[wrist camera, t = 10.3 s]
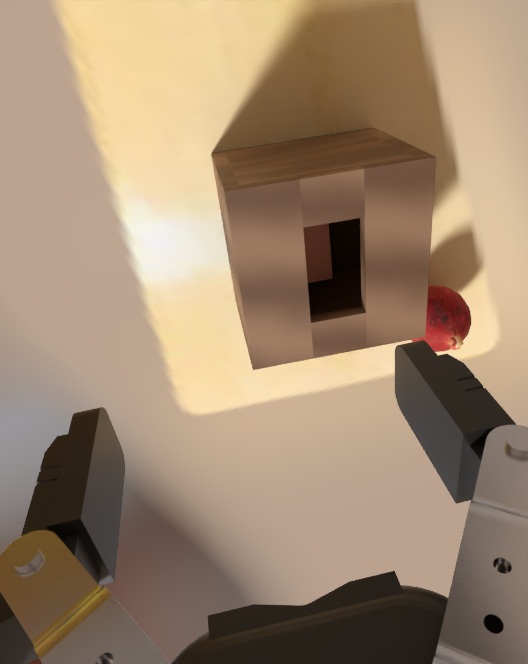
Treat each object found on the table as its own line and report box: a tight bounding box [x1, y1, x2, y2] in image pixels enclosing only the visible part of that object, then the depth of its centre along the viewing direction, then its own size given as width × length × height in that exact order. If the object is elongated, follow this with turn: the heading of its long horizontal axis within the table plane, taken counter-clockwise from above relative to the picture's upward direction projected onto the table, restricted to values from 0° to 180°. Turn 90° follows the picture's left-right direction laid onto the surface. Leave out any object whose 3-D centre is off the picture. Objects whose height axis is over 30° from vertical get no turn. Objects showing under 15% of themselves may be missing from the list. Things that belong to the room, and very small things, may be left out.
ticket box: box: [211, 128, 436, 370], centre depth 38 cm, size 13×13×11 cm
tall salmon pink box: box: [303, 223, 333, 283], centre depth 41 cm, size 5×2×6 cm
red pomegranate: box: [411, 286, 471, 352], centre depth 46 cm, size 6×6×8 cm
